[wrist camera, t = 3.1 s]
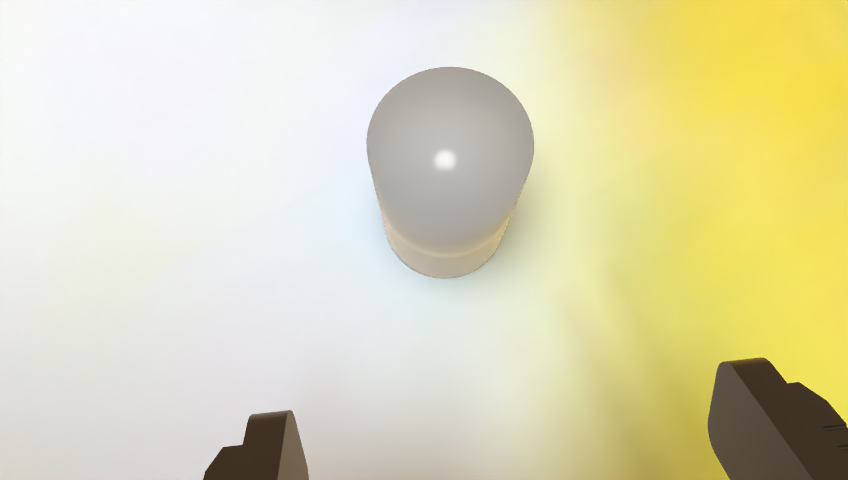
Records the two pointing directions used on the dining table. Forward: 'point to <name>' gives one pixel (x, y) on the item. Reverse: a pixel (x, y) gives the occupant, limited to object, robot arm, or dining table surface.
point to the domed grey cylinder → (448, 167)
